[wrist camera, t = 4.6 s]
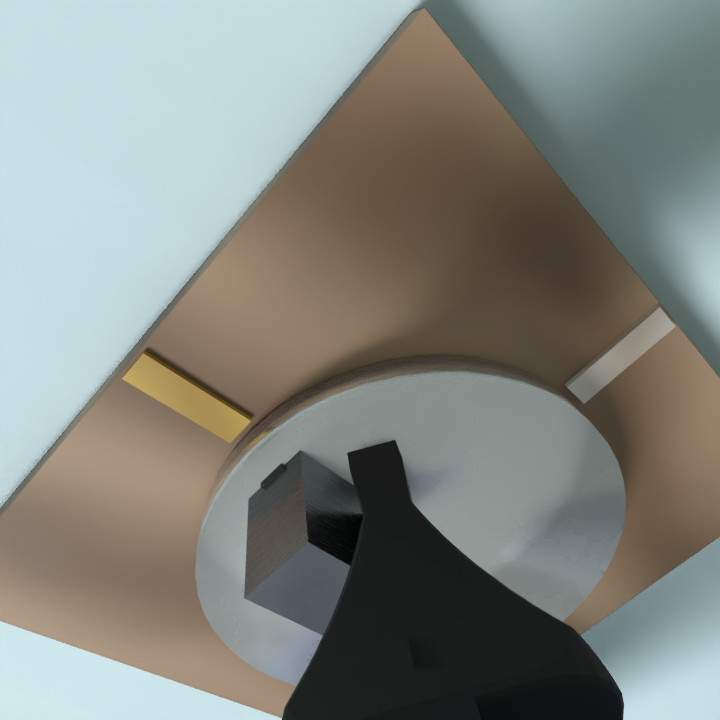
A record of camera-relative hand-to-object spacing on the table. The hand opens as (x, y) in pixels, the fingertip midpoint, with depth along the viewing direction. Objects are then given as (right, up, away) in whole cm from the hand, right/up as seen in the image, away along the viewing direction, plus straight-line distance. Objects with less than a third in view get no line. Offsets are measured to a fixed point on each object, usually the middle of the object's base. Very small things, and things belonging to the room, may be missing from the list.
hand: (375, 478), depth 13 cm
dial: (+1, -3, +4) cm, 5 cm away
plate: (+1, -2, +5) cm, 6 cm away
